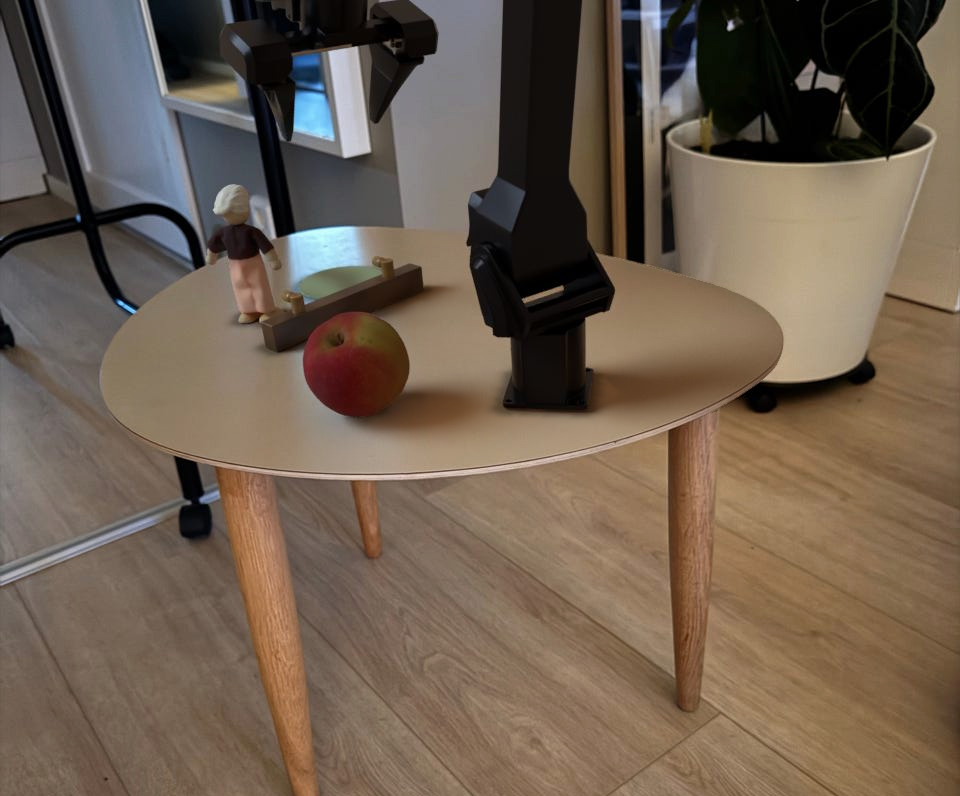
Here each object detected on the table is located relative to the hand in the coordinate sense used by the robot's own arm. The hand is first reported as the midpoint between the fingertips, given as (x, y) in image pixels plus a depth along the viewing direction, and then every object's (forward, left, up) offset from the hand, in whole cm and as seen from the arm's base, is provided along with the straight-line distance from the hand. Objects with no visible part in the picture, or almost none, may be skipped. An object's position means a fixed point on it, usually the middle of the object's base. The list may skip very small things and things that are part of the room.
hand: (331, 130), depth 88 cm
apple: (-26, -9, -16) cm, 32 cm away
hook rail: (-5, +2, -15) cm, 16 cm away
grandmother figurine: (-8, +7, -16) cm, 19 cm away
